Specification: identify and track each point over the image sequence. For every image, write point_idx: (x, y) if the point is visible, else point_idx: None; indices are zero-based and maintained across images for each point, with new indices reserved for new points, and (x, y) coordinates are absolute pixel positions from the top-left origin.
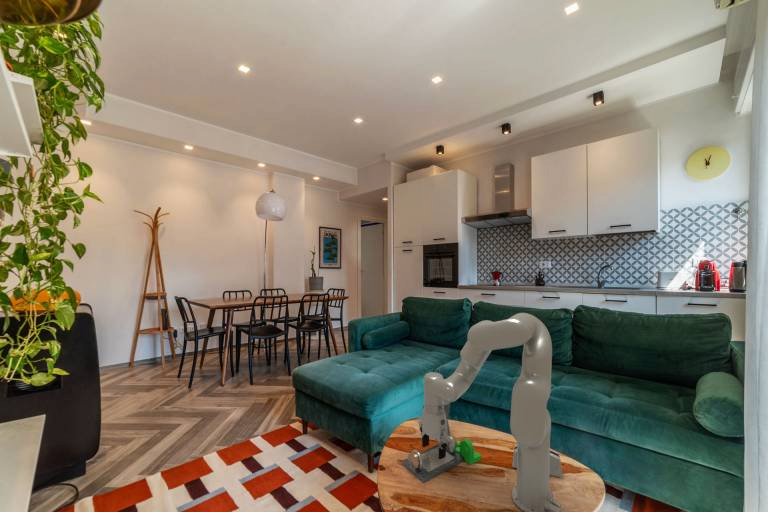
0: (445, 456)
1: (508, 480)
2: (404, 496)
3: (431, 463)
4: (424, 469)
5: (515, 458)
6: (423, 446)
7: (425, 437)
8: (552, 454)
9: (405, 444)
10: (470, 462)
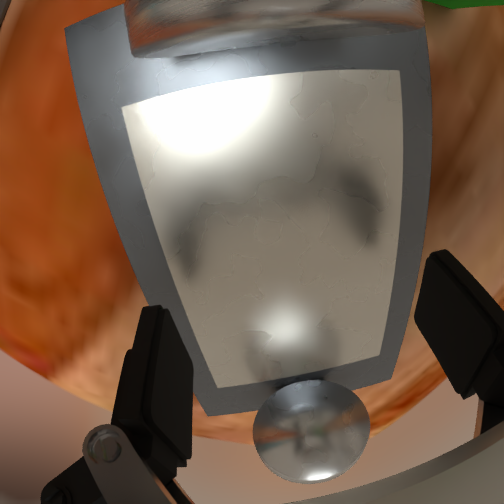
0: (443, 251)
1: None
2: (376, 417)
3: (334, 312)
4: (345, 361)
5: None
6: (190, 373)
7: (182, 448)
8: None
9: (17, 313)
10: (467, 5)
